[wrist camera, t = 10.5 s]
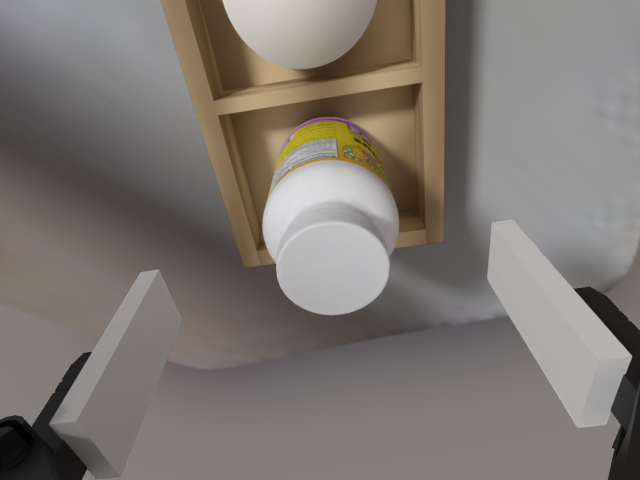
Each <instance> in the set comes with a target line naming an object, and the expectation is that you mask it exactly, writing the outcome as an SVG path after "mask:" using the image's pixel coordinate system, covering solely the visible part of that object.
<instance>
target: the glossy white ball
mask: <svg viewBox="0 0 640 480" xmlns="http://www.w3.org/2000/svg"><path fill="white" fill-rule="evenodd" d="M222 1H223V4H224V7H225V10H226V12H227V15H228V17H229V19H230V21H231V23H232V25H233V27H234V28H235V30H236V31H237V33H238V34H239V36H240V37H241V38H242V40H243V41H244V42H245V43H246V44H247V45H248V46H249V47H250V48H251V49H252V50H253V51H255V52H256V53H257V54H258V55H260V56H261V57H263V58H264V59H266V60H268V61H270V62H272V63H274V64H277V65H280V66H283V67H288V68H293V69H309V68H315V67H319V66H323V65H325V64H328V63H330V62H332V61H334V60H336V59H338V58H339V57H341V56H342V55H343V54H345V53H346V52H347V51H349V50H350V49H351V48H352V47H353V46H354V45H355V44H356V42H357V41H358V40H359V39H360V37H361V36H362V35H363V33H364V31H365V30H366V28H367V26H368V24H369V22H370V20H371V18H372V16H373V13H374V10H375V7H376V4H377V0H222Z"/></svg>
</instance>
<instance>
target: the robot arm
mask: <svg viewBox="0 0 640 480" xmlns="http://www.w3.org/2000/svg"><path fill="white" fill-rule="evenodd" d="M487 280H488V282H489V283H490V285H491V287H492V288H493V290H494V292H495V293H496V295H497V297H498V298H499V300H500V302H501V303H502V305H503V306H504V308H505V310H506V311H507V313H508V315H509V316H510V318H511V319H512V321H513V323H514V325H515V326H516V328H517V330H518V331H519V333H520V334H521V336H522V338H523V339H524V341H525V343H526V344H527V346H528V347H529V349H530V351H531V352H532V354H533V356H534V357H535V359H536V361H537V362H538V364H539V366H540V367H541V369H542V371H543V372H544V374H545V376H546V377H547V379H548V381H549V382H550V384H551V385H552V387H553V389H554V390H555V392H556V394H557V395H558V397H559V399H560V400H561V402H562V403H563V405H564V407H565V409H566V410H567V412H568V413H569V415H570V417H571V418H572V420H573V422H574V423H575V425H576V427H577V428H584V427H593V426H603V425H607V422H608V419H609V417H610V414H611V412H612V413H613V414H614V416H615V417H616V419H617V420H618V421H619V423H620V424H621V427H620V429H619V431H618V434H617V437H616V439H615V441H614V444H613V446H612V448H614V449H615V450H614V454H613V459H612V463H611V468H610V473H609V477H608V480H640V331H639V329H638V328H637V327H636V326H635V325H634V324H633V323H632V322H629V321H628V318H627V317H626V316H625V315H624V314H623V313H622V312H621V311H619V309H618V308H617V307H616V306H615V305H614V304H613V303H612V302H611V300H610V299H609V298H608V297H607V296H605V295H603V294H601V293H600V292H598V291H596V290H594V289H593V288H591V287H584V288H577V289H573V288H572V287H571V286H570V285H569V283H568V282H567V281H566V280H565V279H564V278H563V277H562V275H561V274H560V273H559V272H558V271H557V270H556V269H555V267H554V266H553V265H552V264H551V263H550V262H549V261H548V259H547V258H546V257H545V256H544V255H543V254H542V253H541V251H540V250H539V249H538V248H537V247H536V246H535V245H534V243H533V242H532V241H531V240H530V239H529V238H528V237H527V235H526V234H525V233H524V232H523V231H522V230H521V229H520V227H519V226H518V225H517V224H516V223H515V222H514V221H513V220H506V221H499V222H492V227H491V239H490V251H489V263H488V275H487ZM181 321H182V319H181V316H180V314H179V312H178V310H177V308H176V306H175V303H174V301H173V299H172V297H171V295H170V292H169V290H168V288H167V286H166V284H165V282H164V279H163V277H162V275H161V273H160V271H159V270H152V271H145V272H140V274H139V276H138V277H137V279H136V281H135V282H134V284H133V286H132V287H131V289H130V291H129V292H128V294H127V295H126V297H125V299H124V300H123V302H122V304H121V305H120V307H119V309H118V310H117V312H116V314H115V315H114V317H113V319H112V320H111V322H110V324H109V325H108V327H107V329H106V330H105V332H104V334H103V335H102V337H101V339H100V340H99V342H98V343H97V345H96V347H95V349H94V350H93V352H87V353H83V355H81V356H80V357H79V358H78V359H77V360H76V361H75V362H74V363H73V364H72V365H71V366H70V368H69V369H68V371H67V372H66V374H65V375H64V377H63V379H62V382H60V383H59V385H58V386H57V388H56V390H55V393H53V394H52V396H51V397H50V399H49V400H48V402H47V404H46V405H45V407H44V408H43V410H42V411H41V413H40V415H39V416H38V418H37V419H36V421H35V422H34V424H33V425H32V427H31V426H30V425H29V424H28V423H27V421H26V420H24V418H23V417H21V416H16V415H14V416H10V417H5V418H3V419H1V420H0V480H82V478H83V476H84V474H85V472H86V470H87V469H88V471H90V473H91V474H92V475H93V476H94V477H95V479H104V478H113V477H121V475H122V472H123V470H124V467H125V464H126V462H127V459H128V457H129V454H130V452H131V449H132V447H133V444H134V441H135V439H136V436H137V434H138V431H139V429H140V426H141V423H142V421H143V418H144V416H145V413H146V411H147V408H148V406H149V403H150V401H151V398H152V395H153V393H154V390H155V387H156V385H157V383H158V380H159V378H160V375H161V372H162V370H163V367H164V365H165V362H166V360H167V357H168V355H169V352H170V349H171V347H172V344H173V342H174V339H175V337H176V334H177V332H178V329H179V326H180V324H181Z"/></svg>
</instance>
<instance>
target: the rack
mask: <svg viewBox="0 0 640 480" xmlns="http://www.w3.org/2000/svg"><path fill="white" fill-rule="evenodd" d="M160 1H161V4H162V7H163V10H164V13H165V17H166V20H167V23H168V26H169V29H170V33H171V36H172V39H173V42H174V45H175V48H176V52H177V55H178V58H179V61H180V64H181V68H182V71H183V74H184V77H185V80H186V84H187V87H188V90H189V93H190V96H191V100H192V103H193V106H194V109H195V112H196V116H197V119H198V122H199V125H200V128H201V131H202V135H203V138H204V141H205V144H206V147H207V151H208V154H209V157H210V160H211V163H212V167H213V170H214V173H215V176H216V179H217V183H218V186H219V189H220V192H221V195H222V198H223V202H224V205H225V208H226V211H227V214H228V218H229V221H230V224H231V227H232V230H233V234H234V237H235V240H236V243H237V246H238V250H239V253H240V256H241V259H242V262H243V265H244V268H246V267H254V266H262V265H270V264H276V263H275V261H274V260H273V259H272V257H271V255H270V253H269V251H268V249H267V247H266V244H265V241H264V236H263V228H262V225H263V215H264V210H265V206H266V202H267V199H268V195H269V192H270V188H271V184H272V180H273V176H274V172H275V168H276V164H277V161H278V156H279V153H280V151H281V148H282V146H283V144H284V142H285V140H286V138H287V137H288V136H289V135H290V133H291V132H292V131H293V130H294V129H295V128H297V127H298V126H299V125H301V124H303V123H305V122H307V121H309V120H311V119H314V118H318V117H338V118H342V119H345V120H348V121H350V122H352V123H354V124H355V125H357V126H358V127H360V128H361V129H362V130H363V131H364V132H365V133H366V134H367V136H368V137H369V138H370V140H371V141H372V143H373V145H374V147H375V150H376V152H377V154H378V157H379V160H380V162H381V165H382V168H383V170H384V173H385V176H386V179H387V182H388V185H389V187H390V190H391V192H392V195H393V197H394V200H395V203H396V207H397V210H398V216H399V234H398V239H397V242H396V245H395V247H394V248H401V247H409V246H416V245H424V244H432V243H440V242H444V128H445V0H377V4H376V7H375V10H374V13H373V16H372V18H371V20H370V22H369V24H368V26H367V28H366V30H365V31H364V33H363V35H362V36H361V37H360V39H359V40H358V41H357V42H356V44H355V45H354V46H353V47H352V48H351V49H350V50H349V51H347V52H346V53H345V54H343V55H342V56H341V57H339V58H338V59H336V60H334V61H332V62H330V63H328V64H325V65H323V66H319V67H315V68H309V69H293V68H288V67H283V66H280V65H277V64H274V63H272V62H270V61H268V60H266V59H264V58H263V57H261V56H260V55H258V54H257V53H256V52H255V51H253V50H252V49H251V48H250V47H249V46H248V45H247V44H246V43H245V42H244V41H243V40H242V38H241V37H240V36H239V34H238V33H237V31H236V30H235V28H234V27H233V25H232V23H231V21H230V19H229V17H228V15H227V12H226V10H225V7H224V4H223V1H222V0H160Z"/></svg>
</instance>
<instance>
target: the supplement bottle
mask: <svg viewBox="0 0 640 480" xmlns="http://www.w3.org/2000/svg"><path fill="white" fill-rule="evenodd" d="M262 228H263V236H264V241H265V244H266V247H267V249H268V251H269V253H270V255H271V257H272V259H273V260H274V261H275V263H276V272H277V278H278V282H279V284H280V287H281V289H282V290H283V292H284V293H285V295H286V296H287V297H288V298H289V299H290V300H291V301H292V302H294V303H295V304H296V305H298V306H299V307H301V308H303V309H305V310H308V311H310V312H314V313H317V314H322V315H341V314H347V313H350V312H354V311H356V310H359V309H361V308H363V307H365V306H366V305H368V304H369V303H371V302H372V301H373V300H375V299H376V298H377V297H378V296H379V295H380V293H381V292H382V291H383V289H384V287H385V286H386V283H387V281H388V278H389V274H390V259H389V257H390V255H391V254H392V252H393V250H394V247H395V245H396V242H397V239H398V234H399V216H398V210H397V207H396V203H395V200H394V197H393V195H392V192H391V190H390V187H389V185H388V182H387V179H386V176H385V173H384V170H383V168H382V165H381V162H380V160H379V157H378V154H377V152H376V150H375V147H374V145H373V143H372V141H371V140H370V138H369V137H368V136H367V134H366V133H365V132H364V131H363V130H362V129H361V128H360V127H358V126H357V125H355V124H354V123H352V122H350V121H348V120H345V119H342V118H338V117H318V118H314V119H311V120H309V121H307V122H305V123H303V124H301V125H299V126H298V127H297V128H295V129H294V130H293V131H292V132H291V133H290V135H289V136H288V137H287V138H286V140H285V142H284V144H283V146H282V148H281V151H280V153H279V156H278V161H277V164H276V168H275V172H274V176H273V180H272V184H271V188H270V192H269V195H268V199H267V202H266V206H265V210H264V215H263V225H262Z"/></svg>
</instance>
